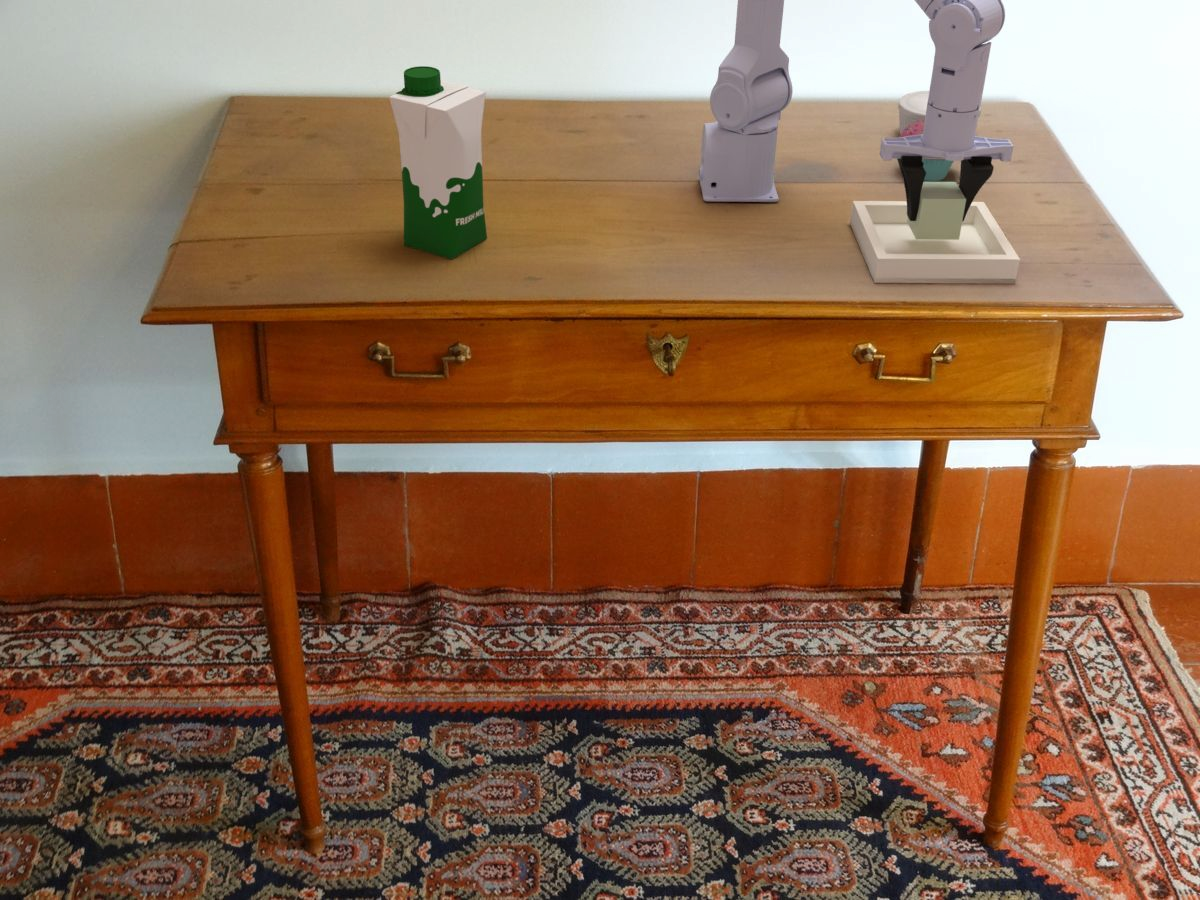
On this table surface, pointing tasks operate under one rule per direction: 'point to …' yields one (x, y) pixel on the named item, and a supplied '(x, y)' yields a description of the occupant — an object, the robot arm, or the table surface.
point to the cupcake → (933, 167)
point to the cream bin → (932, 247)
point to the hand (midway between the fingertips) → (934, 217)
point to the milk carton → (440, 162)
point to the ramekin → (913, 108)
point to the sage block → (939, 212)
